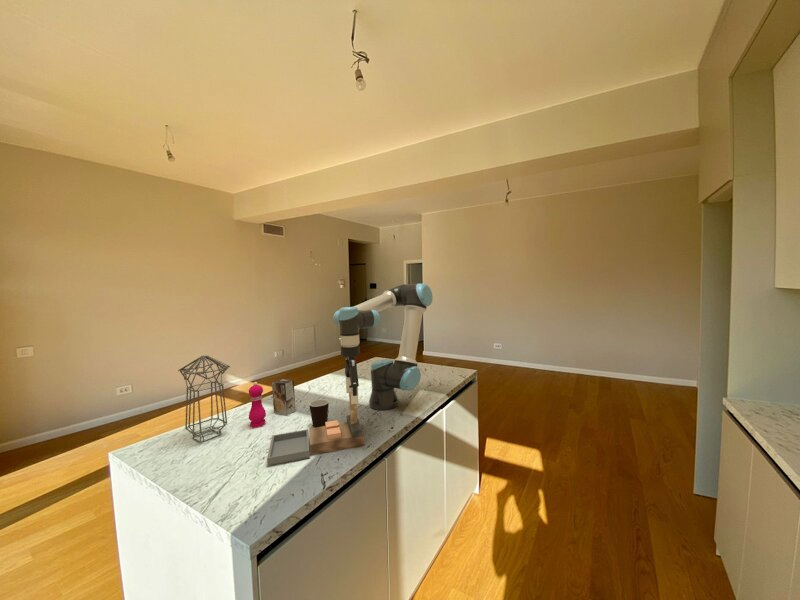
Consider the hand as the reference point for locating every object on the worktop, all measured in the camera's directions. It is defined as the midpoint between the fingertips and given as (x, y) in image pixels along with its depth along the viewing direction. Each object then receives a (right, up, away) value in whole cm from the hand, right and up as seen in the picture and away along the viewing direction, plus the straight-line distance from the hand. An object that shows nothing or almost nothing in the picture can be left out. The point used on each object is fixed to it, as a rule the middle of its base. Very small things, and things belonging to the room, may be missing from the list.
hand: (352, 397), depth 123 cm
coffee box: (-39, -18, +31) cm, 53 cm away
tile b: (-6, -13, -5) cm, 15 cm away
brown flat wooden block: (-6, -17, -1) cm, 18 cm away
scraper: (+1, -13, +1) cm, 13 cm away
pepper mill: (-46, -18, +18) cm, 53 cm away
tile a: (-8, -13, +2) cm, 16 cm away
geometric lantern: (-63, -19, +9) cm, 67 cm away
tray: (-23, -18, -7) cm, 30 cm away
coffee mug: (-17, -17, +16) cm, 29 cm away
